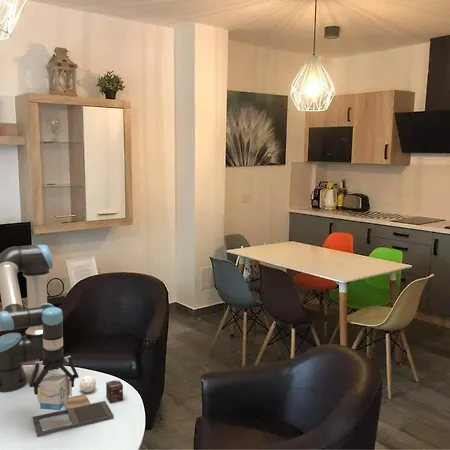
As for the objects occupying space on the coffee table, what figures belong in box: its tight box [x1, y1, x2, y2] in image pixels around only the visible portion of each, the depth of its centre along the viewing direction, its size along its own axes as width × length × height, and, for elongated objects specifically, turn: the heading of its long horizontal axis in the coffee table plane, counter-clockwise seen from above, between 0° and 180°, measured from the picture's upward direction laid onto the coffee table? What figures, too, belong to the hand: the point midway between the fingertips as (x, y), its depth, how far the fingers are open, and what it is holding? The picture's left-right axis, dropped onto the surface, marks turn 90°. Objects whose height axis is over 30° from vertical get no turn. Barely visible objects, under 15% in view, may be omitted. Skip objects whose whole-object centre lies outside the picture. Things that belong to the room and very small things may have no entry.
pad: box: [64, 393, 92, 410], centre depth 220 cm, size 10×10×1 cm
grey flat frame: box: [31, 400, 115, 438], centre depth 207 cm, size 30×13×2 cm, turn 119°
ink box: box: [39, 372, 70, 411], centre depth 202 cm, size 8×8×12 cm
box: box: [105, 379, 124, 404], centre depth 224 cm, size 6×6×7 cm
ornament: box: [79, 375, 97, 393], centre depth 230 cm, size 7×7×8 cm
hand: (54, 397), depth 203 cm, fingers closed on ink box, 11 cm apart
